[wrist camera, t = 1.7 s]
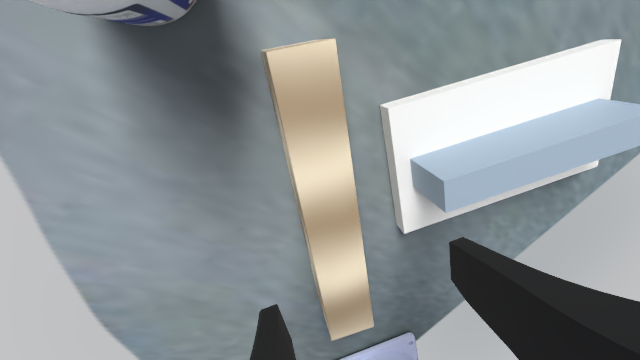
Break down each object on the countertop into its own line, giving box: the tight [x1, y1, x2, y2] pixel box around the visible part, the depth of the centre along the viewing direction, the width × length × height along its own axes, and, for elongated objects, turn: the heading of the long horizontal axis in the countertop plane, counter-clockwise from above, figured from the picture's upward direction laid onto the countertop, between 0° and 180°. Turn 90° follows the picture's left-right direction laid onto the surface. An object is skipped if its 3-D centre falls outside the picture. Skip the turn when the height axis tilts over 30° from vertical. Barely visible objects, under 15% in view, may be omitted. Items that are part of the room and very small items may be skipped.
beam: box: [261, 39, 374, 341], centre depth 19 cm, size 18×3×4 cm, turn 10°
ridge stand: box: [380, 39, 640, 234], centre depth 20 cm, size 9×16×5 cm, turn 103°
